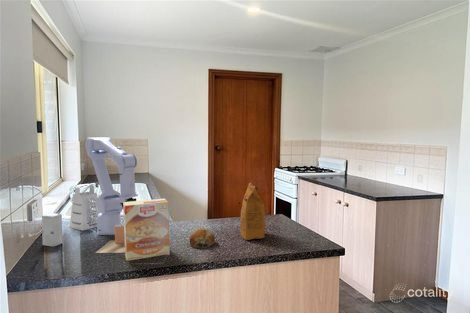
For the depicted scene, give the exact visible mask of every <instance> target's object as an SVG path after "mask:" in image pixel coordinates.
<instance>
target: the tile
mask: <svg viewBox="0 0 470 313" xmlns="http://www.w3.org/2000/svg"><path fill="white" fill-rule="evenodd" d="M114 240H115V244H119V243H125V239H124V224H121V225H115V235H114Z"/></svg>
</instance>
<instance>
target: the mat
mask: <svg viewBox="0 0 470 313" xmlns="http://www.w3.org/2000/svg"><path fill="white" fill-rule="evenodd" d="M118 253H119V254H120V253H121V254H122V253H123V254H125V243H119V244H115V239H114V240H112V239H111V240H109V241H108V242H106V243H105V244H104V245H103V246H102V247H100V248H99V249H98V250H97V251H95V252H94V254H118Z"/></svg>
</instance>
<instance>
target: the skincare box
mask: <svg viewBox="0 0 470 313" xmlns="http://www.w3.org/2000/svg"><path fill="white" fill-rule="evenodd" d="M62 216H63V215H62V213H56V212H55V213H52V212H49V213H46V214H42V215H41V226H42V227H41V229H42V231H41V233H42V236H41V237H42V245H43V246H47V247H56V246H59V245H61V244H63V225H62V224H63V222H62V221H63V218H62Z"/></svg>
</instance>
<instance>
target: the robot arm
mask: <svg viewBox="0 0 470 313" xmlns="http://www.w3.org/2000/svg"><path fill="white" fill-rule="evenodd" d="M84 147H85V151H86V153H87V157H88V158H89V159H91V161H92V165H93V168H94V172H95V175H96V178H97V181H98V185H99V188H100V191H101V193H100V195H98V196H97V198H98V199H97V201H98V209H99V211H100V213H99V214H98V216H97V218H96V219H97V224H96V225H97V227H96V231H97V232H96V236H97V235H98V236H101V235H102V236H104V235H110V236H112V235H114V236H115V225H122V220H121V213H122V211H123V202H130V201H137V198H136V197H138V196H139V193H137V191H136V182H135V181H136V179H135V178H136V177H135V168H136V167H137V165H138V160H137V157H136V155H135V154H134V153H130V154H129V153H128V152H126V151H125V150H123V148H122V147H121V146H115V145H114V144H113V143H112V138H110V137H109V136H106V137H103V136H102V137H100V136H99V137H96V136H95V137H90V136H89V137H87V138H86V140H85V146H84ZM108 156H109V157H110V158H111V160H112V161H114V162H115V163H116V167H117V171H118V174H119V190H120V191H117V190H116V189H115V190H114V187H113V183H112V180H111V177H110V174H109V170H108V168H107V165H106V164H107V163H106V161H105V159H106V158H107V157H108Z"/></svg>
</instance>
